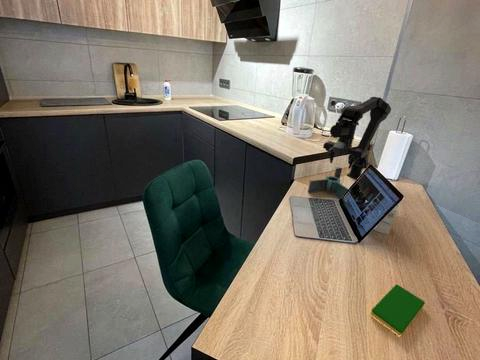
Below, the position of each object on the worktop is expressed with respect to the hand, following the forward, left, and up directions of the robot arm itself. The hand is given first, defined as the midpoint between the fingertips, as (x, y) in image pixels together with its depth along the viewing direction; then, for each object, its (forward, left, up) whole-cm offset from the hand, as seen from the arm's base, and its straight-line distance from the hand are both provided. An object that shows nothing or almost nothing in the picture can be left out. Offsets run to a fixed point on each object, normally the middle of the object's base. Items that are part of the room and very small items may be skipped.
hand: (339, 165), depth 128 cm
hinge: (+14, +4, -9) cm, 17 cm away
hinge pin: (0, 0, -9) cm, 9 cm away
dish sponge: (+60, +44, -10) cm, 75 cm away
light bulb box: (+25, +27, -10) cm, 38 cm away
